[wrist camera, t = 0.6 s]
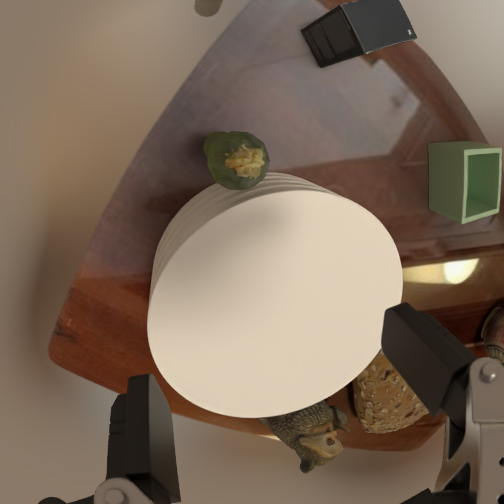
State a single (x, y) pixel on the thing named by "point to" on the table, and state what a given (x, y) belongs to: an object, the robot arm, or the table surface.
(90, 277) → the table surface
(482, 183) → the bin
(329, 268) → the plate stack
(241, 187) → the vegetable
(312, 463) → the figurine
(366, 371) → the bread
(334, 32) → the box
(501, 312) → the ceramic jug
